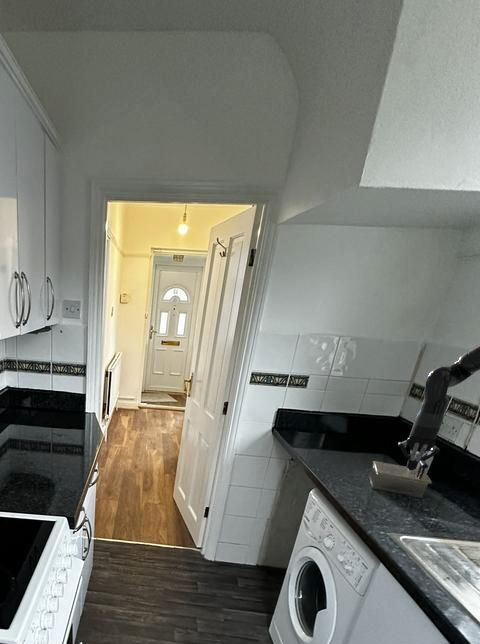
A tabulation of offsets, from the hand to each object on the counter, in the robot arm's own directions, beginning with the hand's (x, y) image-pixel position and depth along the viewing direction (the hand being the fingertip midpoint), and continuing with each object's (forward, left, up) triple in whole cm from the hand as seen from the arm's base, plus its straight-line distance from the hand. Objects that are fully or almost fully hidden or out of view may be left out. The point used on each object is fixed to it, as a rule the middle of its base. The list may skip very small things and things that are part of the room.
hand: (410, 469), depth 153 cm
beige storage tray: (+2, -4, -9) cm, 10 cm away
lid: (+2, -4, -3) cm, 5 cm away
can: (-7, -19, -9) cm, 22 cm away
